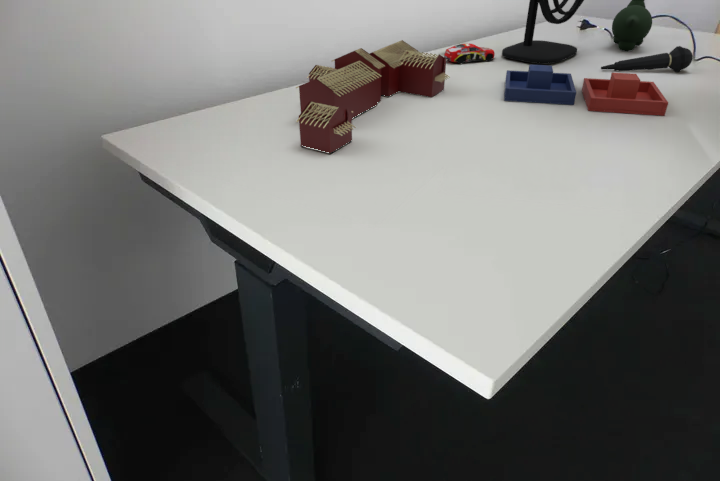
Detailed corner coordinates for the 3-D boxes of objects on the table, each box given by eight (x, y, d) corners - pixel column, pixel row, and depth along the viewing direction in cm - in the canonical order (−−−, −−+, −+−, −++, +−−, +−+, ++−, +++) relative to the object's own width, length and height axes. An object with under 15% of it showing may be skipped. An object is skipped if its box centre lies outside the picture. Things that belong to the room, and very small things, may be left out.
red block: (630, 96, 110) (636, 73, 107) (634, 103, 106) (640, 80, 103) (606, 95, 111) (611, 72, 108) (609, 102, 107) (615, 78, 104)
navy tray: (568, 85, 118) (571, 73, 117) (573, 105, 107) (576, 92, 106) (505, 81, 121) (506, 70, 120) (503, 100, 110) (505, 88, 109)
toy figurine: (610, 41, 159) (604, 53, 139) (626, -30, 151) (623, -29, 131) (645, 44, 156) (644, 56, 136) (663, -29, 147) (666, -28, 127)
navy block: (548, 87, 115) (552, 65, 113) (549, 93, 112) (553, 71, 109) (526, 86, 116) (529, 64, 114) (526, 92, 113) (529, 70, 110)
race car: (488, 56, 141) (490, 40, 139) (498, 61, 136) (500, 44, 134) (441, 59, 138) (442, 43, 136) (449, 65, 134) (450, 48, 132)
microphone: (601, 85, 128) (691, 75, 125) (606, 63, 124) (699, 53, 121) (595, 72, 131) (683, 62, 129) (600, 50, 127) (690, 40, 125)
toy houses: (375, 74, 127) (375, 29, 122) (455, 87, 118) (459, 39, 113) (245, 136, 95) (237, 78, 90) (342, 160, 86) (340, 98, 81)
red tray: (650, 94, 113) (653, 81, 111) (664, 116, 102) (668, 102, 100) (581, 90, 115) (584, 77, 114) (588, 111, 104) (591, 97, 103)
